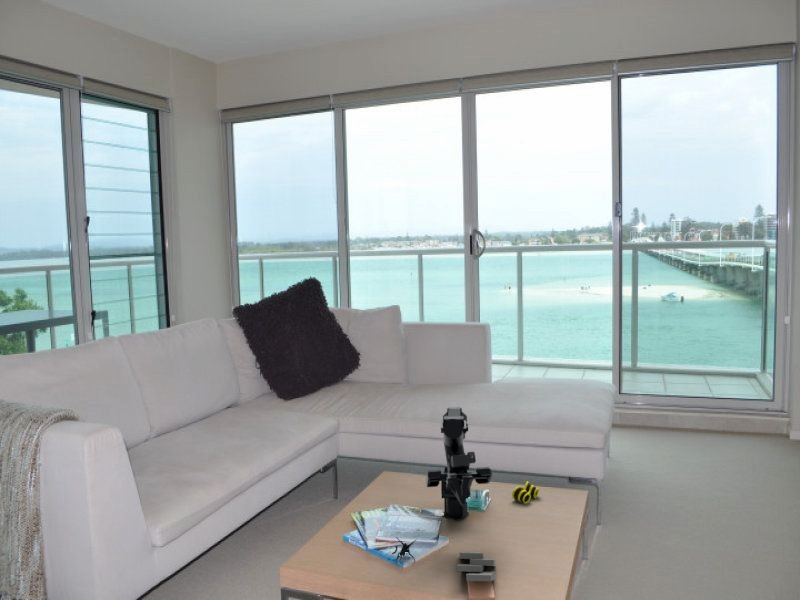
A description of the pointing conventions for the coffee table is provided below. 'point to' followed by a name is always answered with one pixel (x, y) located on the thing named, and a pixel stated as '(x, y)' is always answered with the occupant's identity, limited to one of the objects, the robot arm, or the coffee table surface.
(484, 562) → the domino
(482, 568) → the domino
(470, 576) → the domino
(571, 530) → the coffee table surface
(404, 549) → the creature
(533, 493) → the opera glasses
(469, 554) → the domino
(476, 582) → the end domino
